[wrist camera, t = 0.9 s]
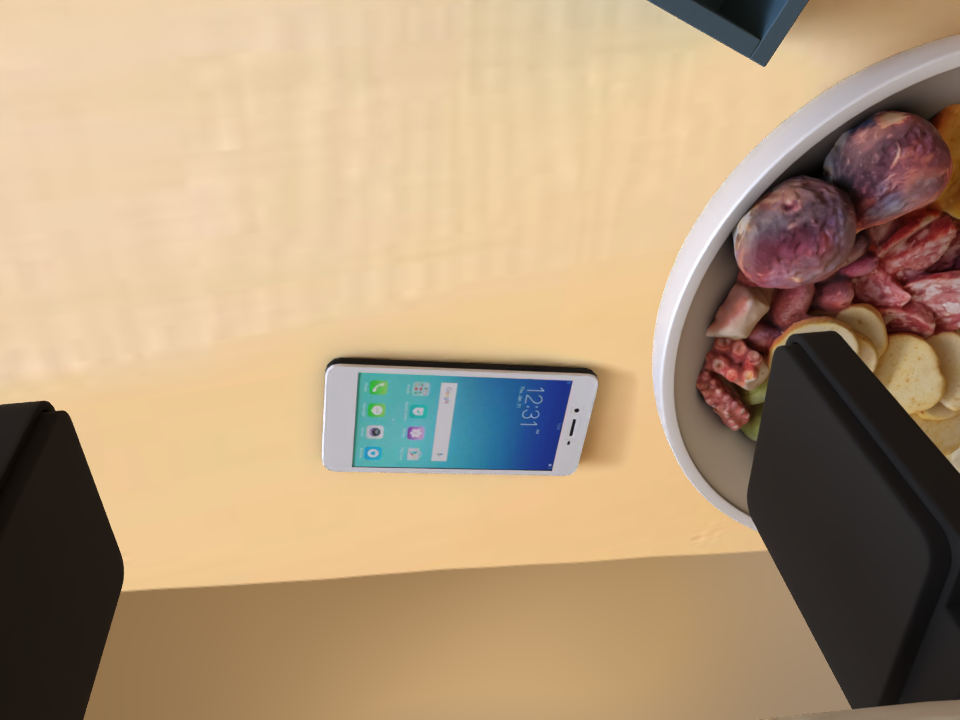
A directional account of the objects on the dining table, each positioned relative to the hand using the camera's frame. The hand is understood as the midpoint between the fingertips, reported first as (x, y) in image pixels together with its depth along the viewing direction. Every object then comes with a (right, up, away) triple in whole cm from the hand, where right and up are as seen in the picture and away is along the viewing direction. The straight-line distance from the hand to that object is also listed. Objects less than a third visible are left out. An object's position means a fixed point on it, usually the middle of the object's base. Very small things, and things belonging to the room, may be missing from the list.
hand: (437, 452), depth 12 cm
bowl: (+24, +5, +37) cm, 44 cm away
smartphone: (-1, -2, +38) cm, 38 cm away
